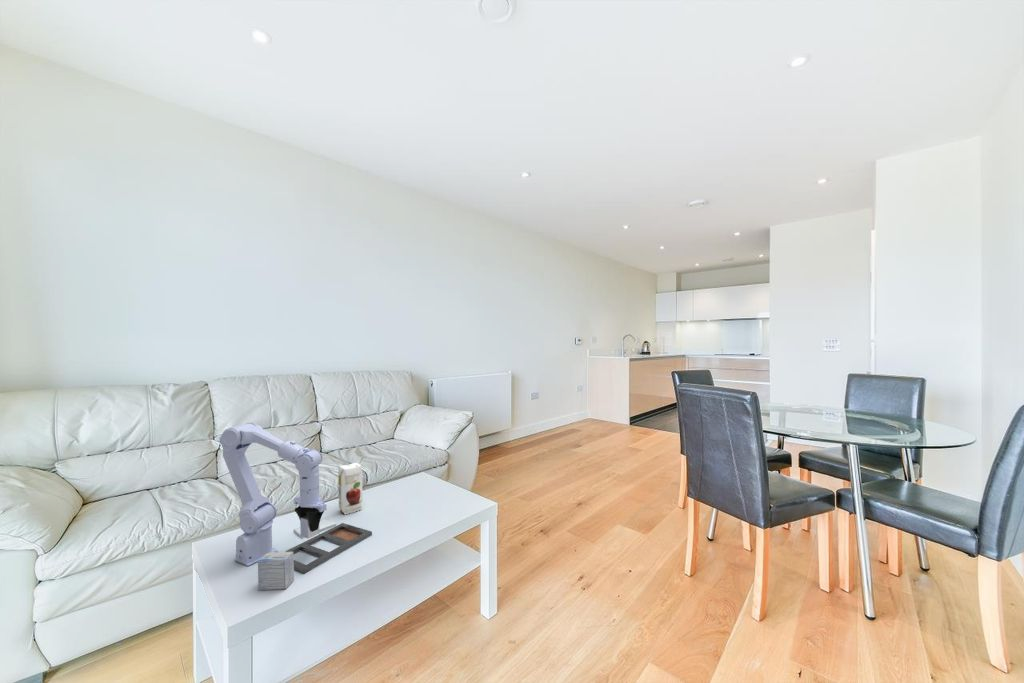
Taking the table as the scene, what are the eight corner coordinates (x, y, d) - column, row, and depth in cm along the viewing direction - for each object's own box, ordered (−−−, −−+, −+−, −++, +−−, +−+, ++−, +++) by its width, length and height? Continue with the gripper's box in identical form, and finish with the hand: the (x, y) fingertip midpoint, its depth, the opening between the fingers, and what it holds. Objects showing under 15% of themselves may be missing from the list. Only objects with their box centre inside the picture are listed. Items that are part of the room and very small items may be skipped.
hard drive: (327, 517, 149) (293, 528, 140) (336, 523, 144) (301, 535, 134) (327, 521, 149) (293, 533, 140) (336, 527, 144) (301, 540, 134)
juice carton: (337, 510, 157) (336, 465, 158) (358, 504, 163) (357, 461, 163) (343, 516, 152) (342, 469, 152) (364, 510, 157) (363, 465, 158)
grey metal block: (308, 538, 121) (307, 520, 121) (300, 535, 122) (300, 517, 123) (319, 533, 124) (319, 515, 124) (312, 530, 126) (311, 512, 126)
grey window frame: (304, 573, 113) (303, 570, 113) (273, 561, 120) (273, 557, 120) (372, 534, 136) (371, 531, 136) (342, 526, 143) (342, 522, 143)
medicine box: (294, 580, 110) (294, 550, 110) (286, 590, 106) (285, 559, 106) (267, 581, 110) (267, 551, 110) (257, 591, 105) (257, 560, 105)
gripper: (334, 487, 124) (335, 528, 124) (307, 480, 131) (308, 519, 130) (314, 494, 118) (315, 537, 117) (287, 487, 124) (288, 528, 124)
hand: (310, 528), depth 123 cm, fingers closed on grey metal block, 4 cm apart
